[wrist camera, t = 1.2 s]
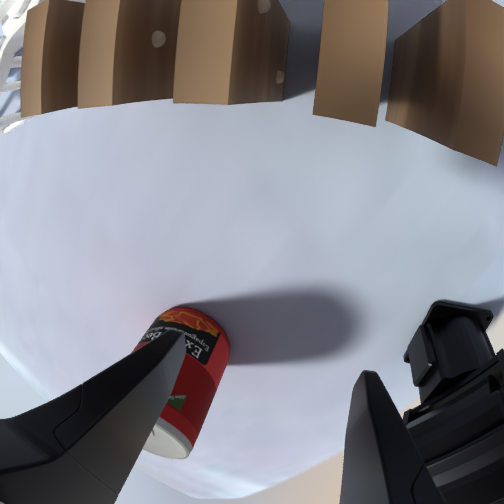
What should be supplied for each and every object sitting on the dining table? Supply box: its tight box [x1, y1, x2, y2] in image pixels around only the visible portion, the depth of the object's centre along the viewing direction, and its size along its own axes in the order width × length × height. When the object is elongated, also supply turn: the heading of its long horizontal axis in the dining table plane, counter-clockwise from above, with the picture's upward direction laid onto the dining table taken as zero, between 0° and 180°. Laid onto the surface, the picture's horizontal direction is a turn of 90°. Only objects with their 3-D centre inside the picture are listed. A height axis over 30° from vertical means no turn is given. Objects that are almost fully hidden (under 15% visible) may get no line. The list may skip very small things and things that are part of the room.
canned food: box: [132, 307, 230, 459], centre depth 22 cm, size 8×8×11 cm
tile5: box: [20, 0, 85, 118], centre depth 11 cm, size 2×5×10 cm, turn 175°
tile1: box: [385, 0, 504, 167], centre depth 9 cm, size 2×5×10 cm, turn 175°
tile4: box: [78, 0, 182, 109], centre depth 11 cm, size 2×5×10 cm, turn 175°
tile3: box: [173, 0, 290, 105], centre depth 10 cm, size 2×5×10 cm, turn 175°
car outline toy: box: [0, 0, 86, 135], centre depth 14 cm, size 20×11×7 cm, turn 99°
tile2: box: [313, 0, 389, 127], centre depth 10 cm, size 2×5×10 cm, turn 175°
